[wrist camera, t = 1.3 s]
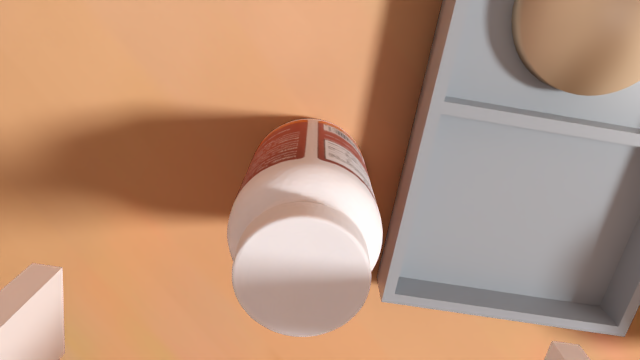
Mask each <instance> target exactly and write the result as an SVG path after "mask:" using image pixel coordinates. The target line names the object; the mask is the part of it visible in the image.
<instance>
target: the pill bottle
mask: <svg viewBox="0 0 640 360" xmlns="http://www.w3.org/2000/svg"><path fill="white" fill-rule="evenodd" d="M227 238H228V246H229V250H230V253H231V257H232V259H233V266H232V283H233V288H234V292H235V295H236V297H237V299H238V301H239V303H240V305H241V306H242V308H243V309H244V310H245V311H246V312H247V314H248V315H249V316H250V317H251V318H252V319H254V320H255V321H256V322H258V323H259V324H261V325H262V326H264V327H266V328H267V329H269V330H272V331H274V332H277V333H280V334H284V335H288V336H295V337H308V336H317V335H321V334H325V333H328V332H330V331H333V330H335V329H337V328H339V327H341V326H343V325H344V324H346V323H347V322H348V321H349V320H351V319H352V318H353V317H354V316H355V315H356V314H357V313H358V311H359V310H360V309H361V308H362V306H363V304H364V303H365V301H366V299H367V296H368V293H369V290H370V285H371V271H372V270H373V268H374V266H375V264H376V262H377V260H378V258H379V254H380V251H381V246H382V238H383V229H382V222H381V217H380V213H379V209H378V206H377V203H376V199H375V196H374V193H373V189H372V186H371V182H370V179H369V176H368V172H367V169H366V165H365V161H364V158H363V156H362V153H361V151H360V149H359V147H358V145H357V144H356V142H355V141H354V140H353V138H352V137H351V136H350V135H349V134H348V133H347V132H345V131H344V130H343V129H341V128H340V127H338V126H336V125H334V124H332V123H330V122H327V121H324V120H319V119H299V120H294V121H291V122H288V123H286V124H283V125H281V126H279V127H278V128H276V129H275V130H273V131H272V132H271V133H270V134H268V135H267V136H266V137H265V139H264V140H263V141H262V142H261V144H260V145H259V147H258V148H257V150H256V152H255V154H254V157H253V159H252V161H251V164H250V166H249V168H248V171H247V173H246V176H245V178H244V180H243V182H242V185H241V187H240V190H239V192H238V194H237V196H236V199H235V201H234V204H233V206H232V210H231V213H230V216H229V221H228V229H227Z"/></svg>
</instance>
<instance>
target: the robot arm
mask: <svg viewBox="0 0 640 360" xmlns="http://www.w3.org/2000/svg"><path fill="white" fill-rule="evenodd" d="M64 353H65V342H64V307H63V272H62V267H56V266H50V265H43V264H36V263H32V264H31V265H30V266H28V267H27V268H26V269H25V270H24V271H23V272H21V273H20V274H19V275H18V276H17V277H16V278H14V279H13V280H12V281H11V282H10V283H9V284H7V285H6V286H5V287H4V288H3V289H2V290H0V360H60V358H61V357H62V356H63V354H64ZM544 360H590V358H589V357H588V356H587V354H586V353H585V352H584V350H583V349H582V348H581V346H580V345H577V344H571V343H564V342H557V341H552V342H551V344H550V347H549V349H548V352H547V354H546V357H545V359H544Z"/></svg>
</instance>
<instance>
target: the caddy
mask: <svg viewBox="0 0 640 360" xmlns="http://www.w3.org/2000/svg"><path fill="white" fill-rule="evenodd" d="M513 5H514V0H443V1H442V5H441V9H440V13H439V17H438V22H437V26H436V30H435V34H434V38H433V43H432V47H431V51H430V55H429V59H428V64H427V68H426V72H425V76H424V80H423V85H422V89H421V93H420V97H419V101H418V106H417V110H416V114H415V118H414V122H413V127H412V131H411V135H410V139H409V143H408V148H407V152H406V156H405V160H404V164H403V169H402V173H401V177H400V181H399V185H398V190H397V194H396V198H395V202H394V206H393V211H392V215H391V219H390V223H389V227H388V232H387V236H386V240H385V244H384V248H383V253H382V257H381V261H380V265H379V269H378V274H377V281H378V287H379V292H380V297H381V302H387V303H394V304H401V305H408V306H415V307H422V308H429V309H436V310H443V311H450V312H456V313H463V314H470V315H477V316H484V317H491V318H498V319H505V320H512V321H519V322H526V323H533V324H539V325H546V326H553V327H560V328H567V329H574V330H581V331H588V332H595V333H602V334H609V335H616V336H622V337H625V335H626V333H627V331H628V329H629V326H630V324H631V322H632V320H633V318H634V316H635V314H636V312H637V310H638V307H639V305H640V81H639V82H637V83H635V84H633V85H631V86H629V87H627V88H625V89H622V90H620V91H617V92H613V93H609V94H604V95H598V96H584V95H576V94H572V93H568V92H565V91H562V90H559V89H556V88H554V87H551V86H549V85H547V84H545V83H543V82H541V81H540V80H538V79H537V78H536V77H535V76H533V75H532V74H531V73H530V72H529V70H528V69H527V68H526V67H525V66H524V64H523V63H522V61H521V60H520V58H519V55H518V53H517V51H516V48H515V45H514V41H513V36H512V22H511V19H512V10H513Z"/></svg>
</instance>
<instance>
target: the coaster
mask: <svg viewBox="0 0 640 360" xmlns="http://www.w3.org/2000/svg"><path fill="white" fill-rule="evenodd" d="M511 22H512V36H513V41H514V45H515V48H516V51H517V53H518V55H519V58H520V60H521V61H522V63H523V64H524V66H525V67H526V68H527V69H528V70H529V72H530V73H531V74H532V75H533V76H535V77H536V78H537V79H538V80H540V81H541V82H543V83H545V84H547V85H549V86H551V87H554V88H556V89H559V90H562V91H565V92H568V93H572V94H576V95H584V96H598V95H604V94H609V93H613V92H617V91H620V90H622V89H625V88H627V87H629V86H631V85H633V84H635V83H637V82H639V81H640V0H514V5H513V10H512V19H511Z"/></svg>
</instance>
